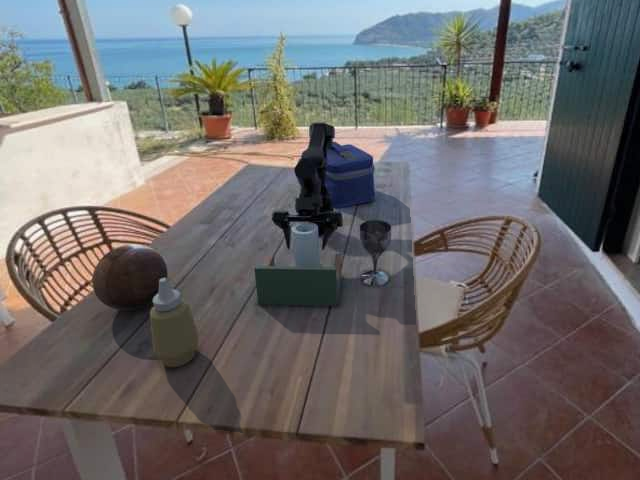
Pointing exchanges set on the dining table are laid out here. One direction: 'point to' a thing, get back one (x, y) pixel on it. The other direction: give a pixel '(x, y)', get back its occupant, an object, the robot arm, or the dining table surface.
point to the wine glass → (375, 248)
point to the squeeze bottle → (172, 327)
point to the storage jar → (305, 245)
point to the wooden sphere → (128, 277)
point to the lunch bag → (349, 175)
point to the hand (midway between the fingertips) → (305, 249)
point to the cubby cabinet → (297, 284)
